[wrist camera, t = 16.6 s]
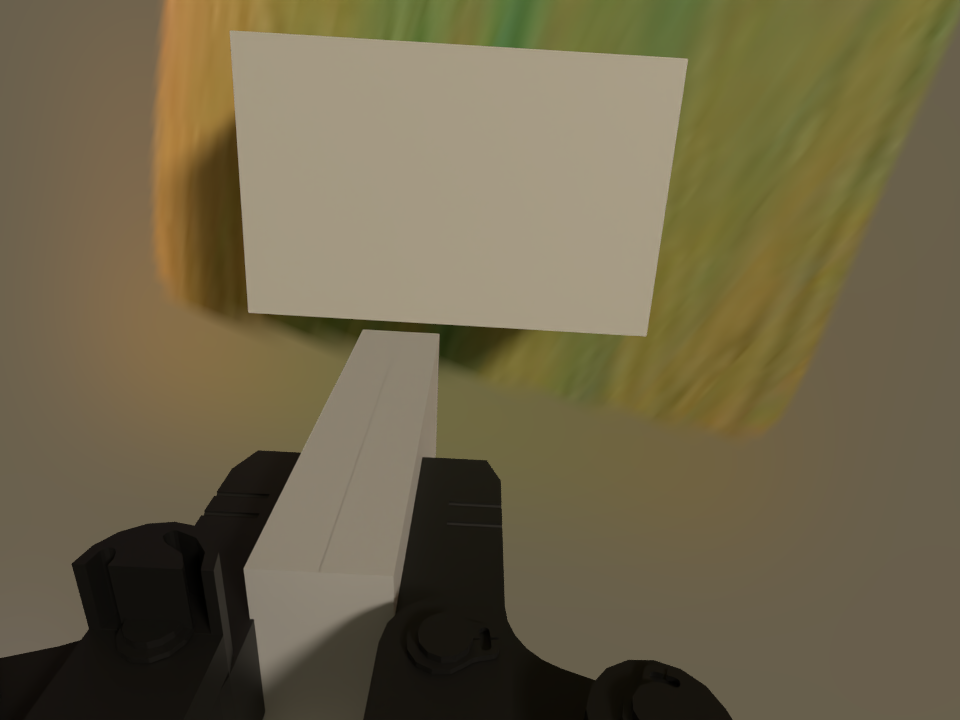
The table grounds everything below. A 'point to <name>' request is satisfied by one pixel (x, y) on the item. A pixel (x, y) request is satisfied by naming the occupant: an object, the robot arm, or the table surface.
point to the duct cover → (453, 181)
